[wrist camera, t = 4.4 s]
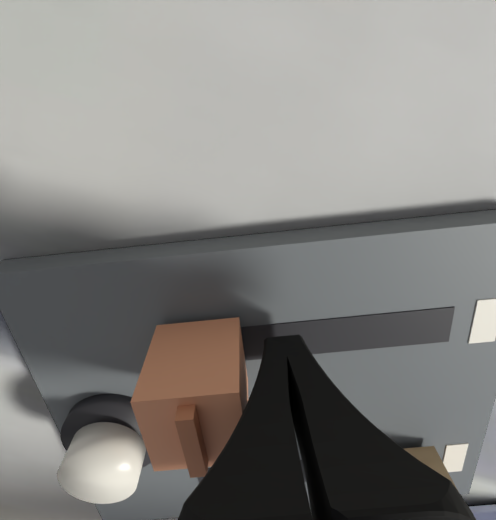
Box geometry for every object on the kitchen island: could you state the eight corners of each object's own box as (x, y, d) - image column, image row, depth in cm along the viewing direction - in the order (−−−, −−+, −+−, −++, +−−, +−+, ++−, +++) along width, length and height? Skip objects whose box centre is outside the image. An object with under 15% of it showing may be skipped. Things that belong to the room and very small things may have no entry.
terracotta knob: (247, 379, 14) (250, 478, 11) (172, 386, 14) (150, 487, 11) (239, 317, 13) (239, 407, 9) (156, 325, 13) (124, 417, 9)
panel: (456, 471, 20) (475, 506, 18) (111, 500, 20) (100, 536, 18) (520, 206, 13) (559, 224, 11) (3, 260, 13) (-29, 284, 12)
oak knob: (426, 486, 18) (473, 590, 14) (364, 491, 18) (396, 596, 14) (433, 445, 16) (489, 548, 13) (367, 451, 16) (403, 555, 13)
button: (152, 467, 16) (145, 500, 14) (84, 472, 16) (71, 506, 14) (136, 418, 14) (126, 451, 13) (62, 425, 14) (45, 458, 13)
